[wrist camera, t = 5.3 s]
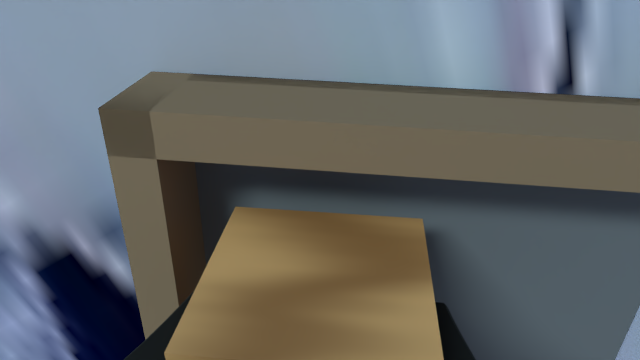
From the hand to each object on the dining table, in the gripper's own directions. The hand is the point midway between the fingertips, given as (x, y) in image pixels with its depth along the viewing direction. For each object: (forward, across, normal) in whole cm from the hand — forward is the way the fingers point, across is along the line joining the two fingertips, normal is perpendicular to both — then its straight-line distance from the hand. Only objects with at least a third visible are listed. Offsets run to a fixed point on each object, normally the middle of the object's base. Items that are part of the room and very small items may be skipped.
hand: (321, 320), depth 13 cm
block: (+2, 0, 0) cm, 2 cm away
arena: (+4, -2, +2) cm, 5 cm away
